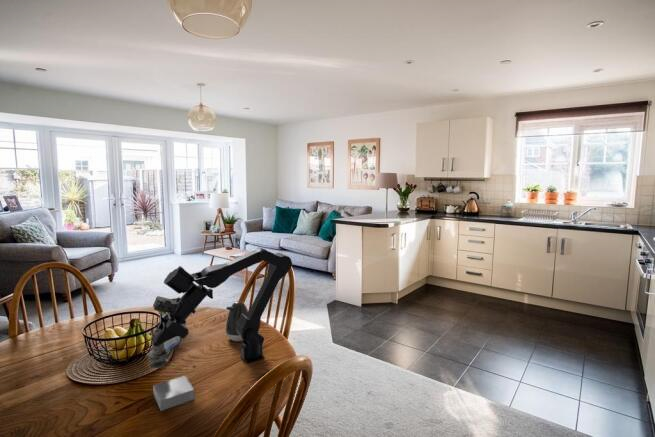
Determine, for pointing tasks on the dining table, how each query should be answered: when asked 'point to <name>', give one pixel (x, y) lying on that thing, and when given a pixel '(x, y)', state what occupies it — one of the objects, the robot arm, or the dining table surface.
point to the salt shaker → (158, 352)
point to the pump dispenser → (234, 319)
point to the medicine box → (171, 342)
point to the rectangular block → (173, 392)
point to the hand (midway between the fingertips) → (153, 343)
